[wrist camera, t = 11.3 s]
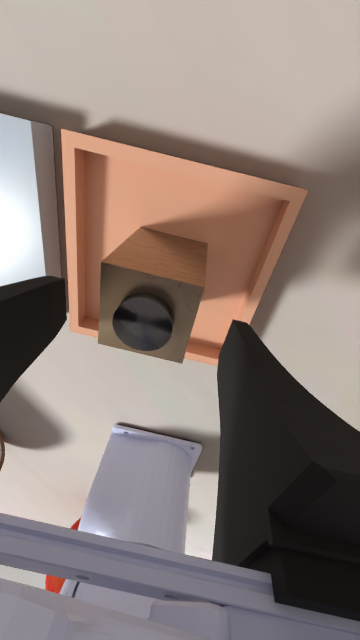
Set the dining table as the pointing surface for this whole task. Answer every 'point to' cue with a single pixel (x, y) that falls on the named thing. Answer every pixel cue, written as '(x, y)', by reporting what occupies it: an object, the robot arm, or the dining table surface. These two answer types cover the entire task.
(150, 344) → the wooden block with knob
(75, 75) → the dining table surface
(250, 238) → the terracotta tray
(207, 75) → the dining table surface
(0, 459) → the tin
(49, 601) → the robot arm
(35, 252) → the blue-grey tray
